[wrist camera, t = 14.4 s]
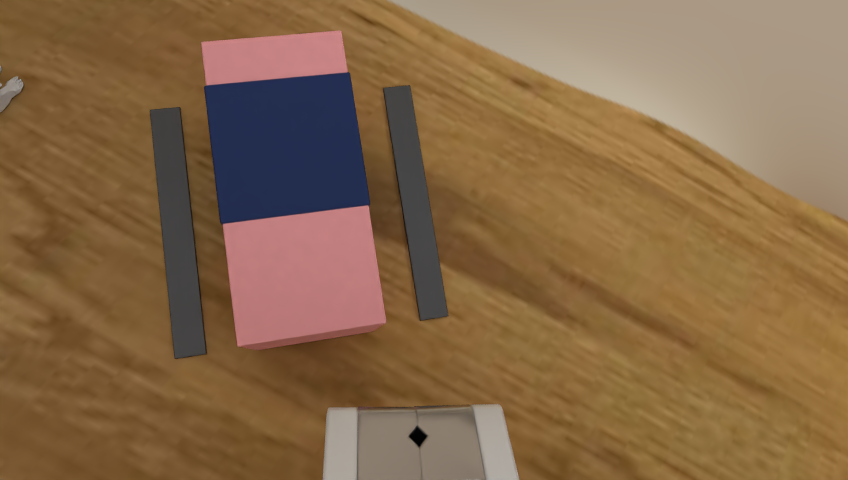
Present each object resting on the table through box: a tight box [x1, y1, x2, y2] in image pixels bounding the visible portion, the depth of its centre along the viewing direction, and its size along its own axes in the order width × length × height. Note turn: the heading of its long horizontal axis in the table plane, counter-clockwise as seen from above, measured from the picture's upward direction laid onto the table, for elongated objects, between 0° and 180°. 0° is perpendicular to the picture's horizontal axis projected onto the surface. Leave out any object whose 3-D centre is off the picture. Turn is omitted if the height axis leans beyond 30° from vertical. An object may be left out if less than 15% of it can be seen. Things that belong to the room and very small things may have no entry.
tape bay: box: [150, 85, 448, 359], centre depth 35 cm, size 13×14×1 cm
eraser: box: [201, 31, 386, 350], centre depth 31 cm, size 13×6×8 cm, turn 10°
